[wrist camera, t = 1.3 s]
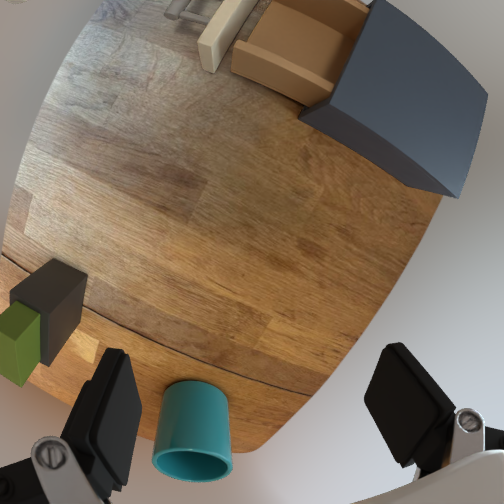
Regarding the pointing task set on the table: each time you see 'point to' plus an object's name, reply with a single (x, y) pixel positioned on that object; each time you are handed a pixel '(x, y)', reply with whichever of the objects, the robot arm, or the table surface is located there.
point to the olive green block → (19, 342)
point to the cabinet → (404, 104)
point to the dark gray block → (53, 303)
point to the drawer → (281, 42)
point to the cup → (193, 433)
